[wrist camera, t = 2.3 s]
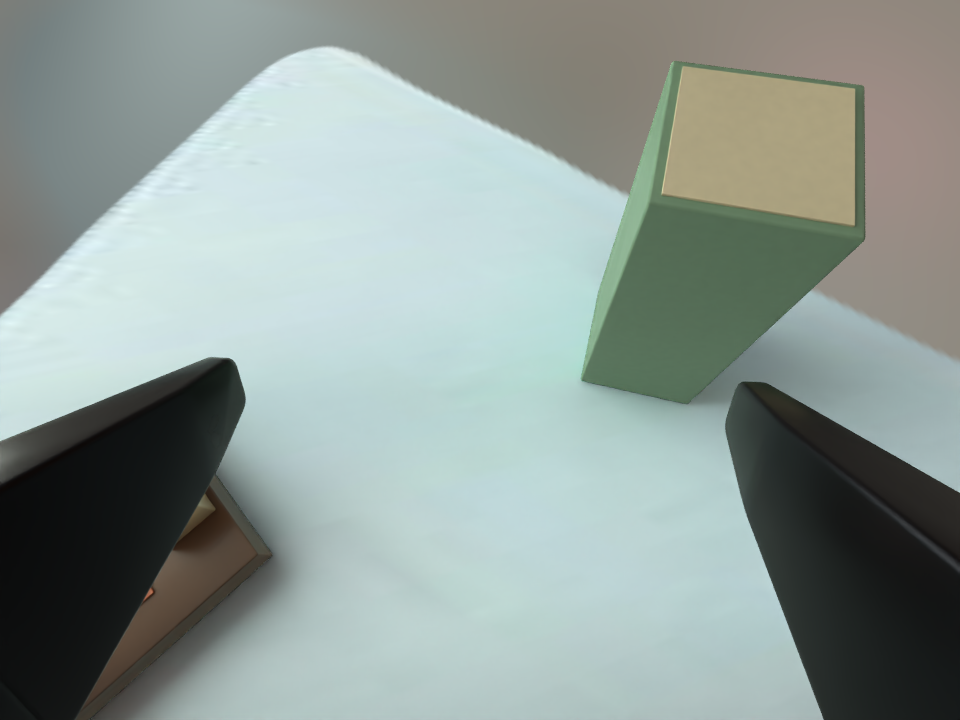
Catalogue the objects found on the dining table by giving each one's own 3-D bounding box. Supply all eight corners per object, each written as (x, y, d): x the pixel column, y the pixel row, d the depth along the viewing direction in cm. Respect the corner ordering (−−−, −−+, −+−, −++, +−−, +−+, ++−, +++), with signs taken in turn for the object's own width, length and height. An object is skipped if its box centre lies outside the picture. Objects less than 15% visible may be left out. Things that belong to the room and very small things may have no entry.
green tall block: (690, 405, 24) (875, 239, 12) (580, 381, 25) (647, 201, 13) (701, 311, 26) (873, 82, 14) (598, 291, 26) (673, 56, 14)
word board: (273, 555, 22) (232, 553, 19) (-6, 804, 20) (-112, 853, 16) (170, 411, 25) (118, 387, 22) (-88, 612, 22) (-192, 619, 19)
